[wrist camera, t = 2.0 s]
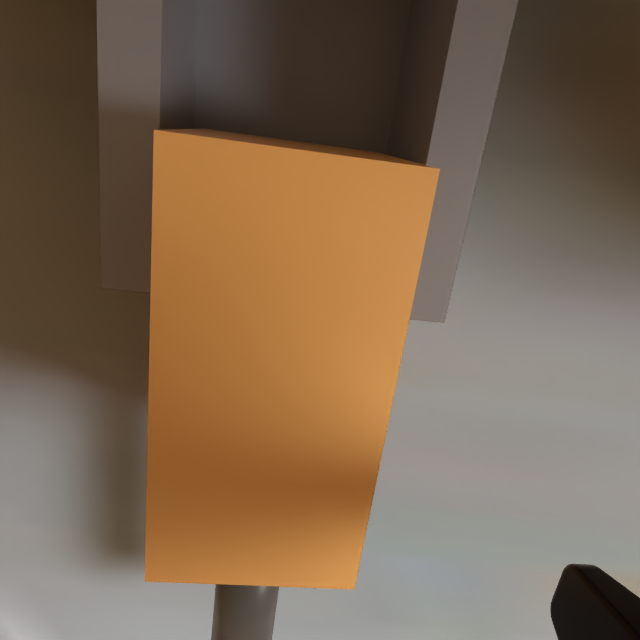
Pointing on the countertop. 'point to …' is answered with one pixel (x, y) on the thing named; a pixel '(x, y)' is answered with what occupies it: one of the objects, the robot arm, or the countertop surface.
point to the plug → (272, 359)
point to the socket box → (298, 101)
